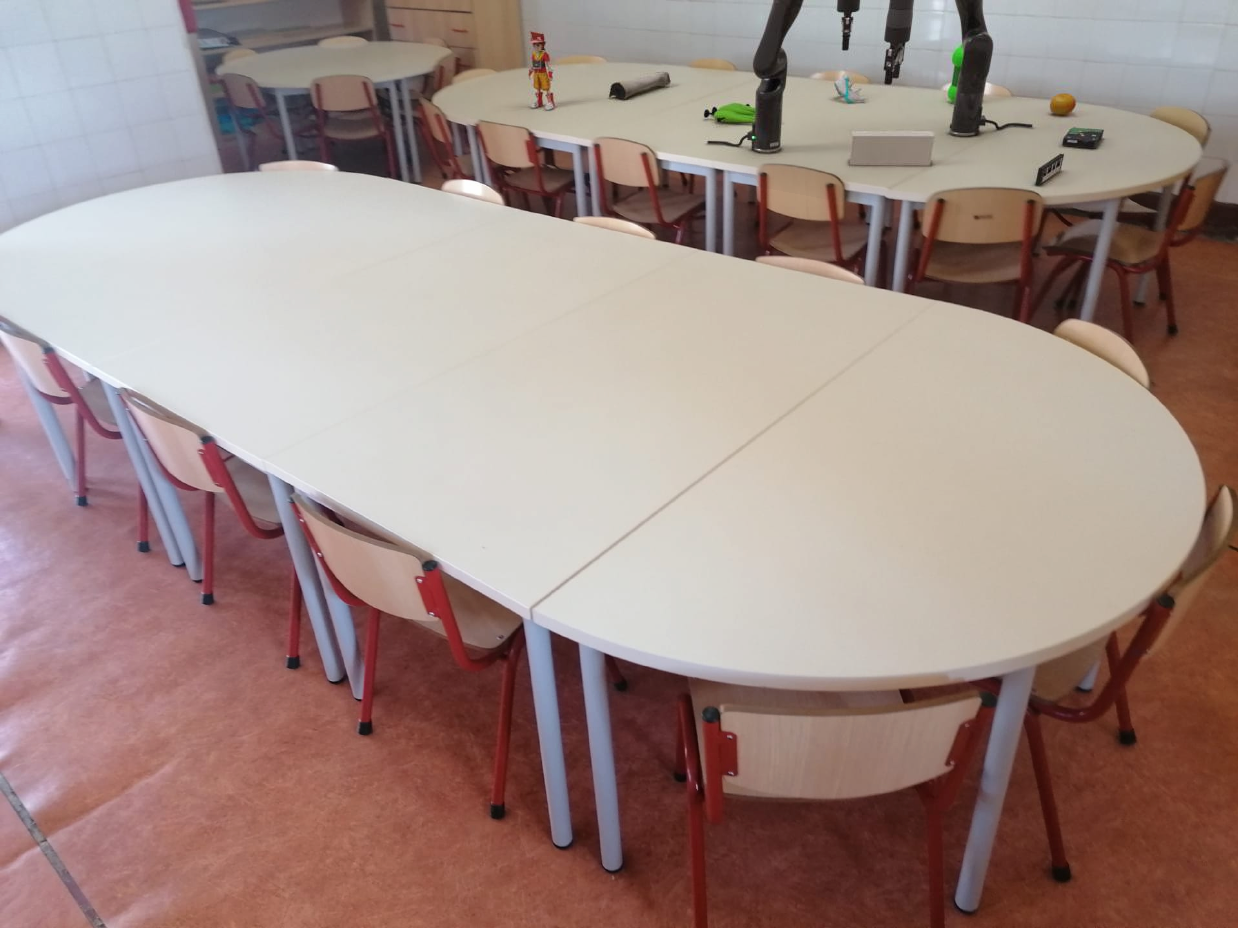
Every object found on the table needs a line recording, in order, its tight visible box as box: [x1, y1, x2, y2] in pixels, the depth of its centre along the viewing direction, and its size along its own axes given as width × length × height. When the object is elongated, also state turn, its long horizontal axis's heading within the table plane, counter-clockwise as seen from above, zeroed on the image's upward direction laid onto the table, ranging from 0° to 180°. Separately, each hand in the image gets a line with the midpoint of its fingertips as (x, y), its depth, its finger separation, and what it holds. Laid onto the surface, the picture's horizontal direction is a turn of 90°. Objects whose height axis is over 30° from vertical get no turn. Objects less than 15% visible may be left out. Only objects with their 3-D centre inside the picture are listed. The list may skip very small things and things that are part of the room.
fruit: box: [1049, 93, 1077, 116], centre depth 330 cm, size 8×8×8 cm
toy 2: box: [703, 102, 755, 124], centre depth 348 cm, size 28×5×30 cm
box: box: [849, 130, 935, 167], centre depth 293 cm, size 25×6×9 cm, turn 78°
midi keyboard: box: [1035, 153, 1065, 186], centre depth 273 cm, size 18×1×5 cm, turn 138°
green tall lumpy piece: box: [947, 43, 963, 104], centre depth 347 cm, size 10×10×25 cm
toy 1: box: [527, 31, 556, 111], centre depth 374 cm, size 12×9×30 cm
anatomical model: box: [833, 74, 866, 104], centre depth 365 cm, size 15×10×10 cm
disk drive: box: [1062, 127, 1105, 149], centre depth 302 cm, size 10×3×15 cm
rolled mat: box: [608, 71, 672, 101], centre depth 395 cm, size 30×9×10 cm
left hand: (891, 81), depth 279 cm, fingers open, 8 cm apart
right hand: (845, 48), depth 310 cm, fingers open, 8 cm apart
